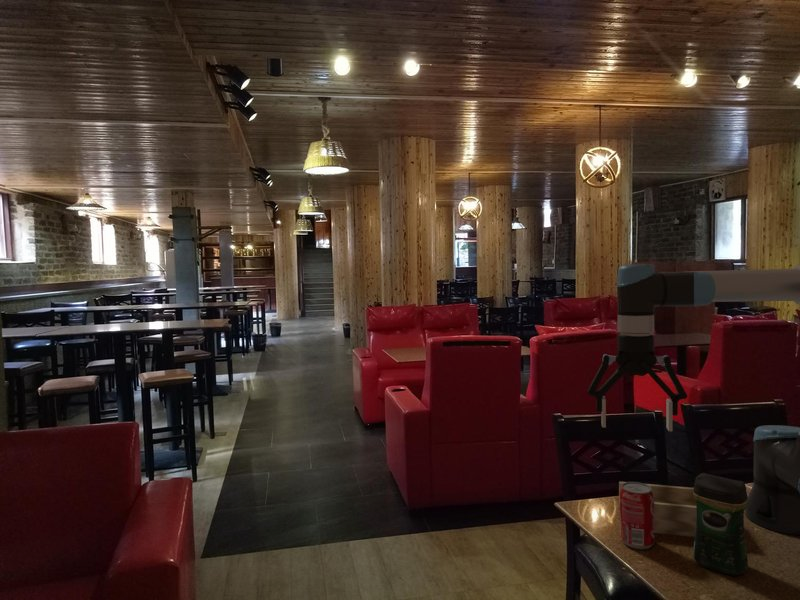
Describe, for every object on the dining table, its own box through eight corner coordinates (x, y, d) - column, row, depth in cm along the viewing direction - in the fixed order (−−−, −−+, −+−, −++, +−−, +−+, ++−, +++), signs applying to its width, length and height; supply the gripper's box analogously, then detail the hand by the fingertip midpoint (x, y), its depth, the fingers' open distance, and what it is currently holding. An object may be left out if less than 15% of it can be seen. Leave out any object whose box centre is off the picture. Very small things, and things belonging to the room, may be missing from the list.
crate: (714, 517, 132) (714, 489, 132) (729, 541, 121) (729, 510, 120) (619, 507, 138) (619, 481, 138) (624, 529, 127) (624, 500, 127)
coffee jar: (751, 565, 111) (752, 478, 110) (741, 581, 105) (742, 489, 104) (700, 549, 117) (700, 466, 116) (688, 563, 112) (688, 477, 111)
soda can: (658, 552, 116) (658, 494, 116) (623, 549, 118) (623, 492, 117) (649, 536, 123) (650, 481, 123) (617, 534, 125) (616, 480, 124)
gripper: (694, 332, 118) (694, 426, 119) (576, 331, 126) (577, 419, 127) (702, 336, 111) (702, 436, 112) (577, 335, 118) (577, 429, 120)
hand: (635, 427), depth 119 cm, fingers open, 13 cm apart
